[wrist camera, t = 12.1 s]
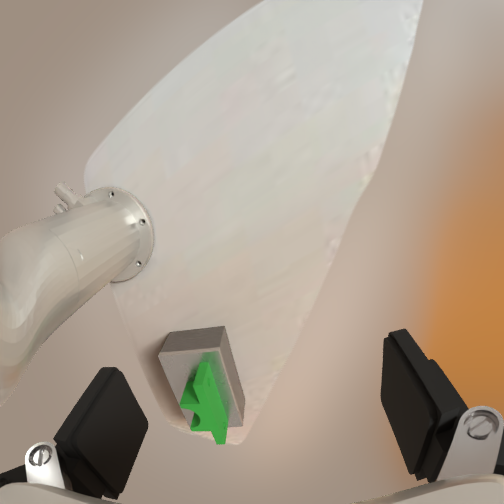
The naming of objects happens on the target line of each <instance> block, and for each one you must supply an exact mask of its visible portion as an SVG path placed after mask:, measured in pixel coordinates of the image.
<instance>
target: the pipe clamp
mask: <svg viewBox="0 0 504 504" xmlns="http://www.w3.org/2000/svg"><path fill="white" fill-rule="evenodd" d="M179 405H180V407H181V408H182V409H188V410H191V411H193V412H194V415H193V419H192V423H191V426H190V428H191V431H211V432H212V434H213V437H214V439H215V441H216V443H217V444H225V441H226V434H227V427H228V419H227V416H226V413H225V410H224V407H223V404H222V402H221V399H220V396H219V393H218V390H217V387H216V384H215V380H214V377H213V374H212V371H211V368H210V365H209V362H201V363H200V364H199V367H198V370H197V374H196V377H195V380H194V381H187V383H186V386H185V389H184V392H183V395H182V398H181V401H180V404H179Z"/></svg>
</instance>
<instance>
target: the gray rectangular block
mask: <svg viewBox="0 0 504 504" xmlns="http://www.w3.org/2000/svg"><path fill="white" fill-rule="evenodd" d="M158 358H159V360H160V363H161V365H162V367H163V370H164V372H165V374H166V377H167V379H168V381H169V384H170V386H171V388H172V391H173V393H174V395H175V397H176V399H177V402H178V404H180V401H181V398H182V395H183V392H184V389H185V386H186V383H187V381H194V380H195V377H196V374H197V370H198V367H199V364H200V363H201V362H209V365H210V368H211V371H212V374H213V377H214V380H215V384H216V387H217V390H218V393H219V396H220V399H221V402H222V404H223V407H224V410H225V413H226V416H227V419H228V427H239V426H243V418H244V407H245V397H244V394H243V390H242V387H241V383H240V380H239V376H238V373H237V369H236V366H235V362H234V359H233V355H232V352H231V348H230V344H229V341H228V337H227V333H226V329H225V326H220V327H212V328H204V329H195V330H186V331H177V332H170V334H169V335H168V337H167V339H166V341H165V343H164V345H163V347H162V349H161V351H160V353H159V355H158ZM179 406H180V405H179ZM180 408H181V407H180ZM181 410H182V412H183V414H184V417H185V419H186V421H187V423H188V425H189V427H190V426H191V423H192V419H193V415H194V412H193V411H191V410H188V409H182V408H181Z"/></svg>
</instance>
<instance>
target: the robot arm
mask: <svg viewBox="0 0 504 504" xmlns="http://www.w3.org/2000/svg"><path fill="white" fill-rule="evenodd" d="M54 192H55V194H56V195H57V196H58V197H59V198H60V199H61V200H62V201H64V202H65V203H66V204H67V205H68V211H66V209H65V208H64V207H63V206H62V205H61V204H58V205H57V206H56V207H55V209H54V213H56V215H53V216H50V217H47V218H44V219H41V220H38V221H35V222H33V223H30V224H27V225H24V226H21V227H19V228H16V229H14V230H13V231H11V232H9V233H8V234H7V235H5V236H4V237H3V238H2V239H1V240H0V407H1V406H2V405H3V404H4V403H5V402H6V400H7V399H8V398H9V397H10V395H11V394H12V393H13V391H14V390H15V388H16V387H17V385H18V383H19V382H20V380H21V378H22V376H23V375H24V373H25V371H26V369H27V367H28V365H29V364H30V362H31V360H32V358H33V357H34V355H35V354H36V352H37V351H38V350H39V348H40V347H41V346H42V344H43V343H44V342H45V341H46V340H47V338H48V337H49V336H50V335H51V334H52V333H53V332H54V331H55V330H56V329H57V328H58V327H59V326H60V325H61V324H62V323H63V322H64V321H65V320H67V319H68V318H69V317H70V316H71V315H72V314H74V313H75V312H76V311H77V310H78V309H79V308H80V307H81V306H83V304H85V303H86V302H87V301H88V300H89V299H90V298H92V297H93V296H94V295H95V294H96V293H97V292H98V291H100V290H101V289H102V288H103V287H104V286H105V285H106V284H108V283H109V282H110V281H113V282H118V281H125V280H128V279H130V278H132V277H134V276H135V275H137V274H138V273H139V272H140V271H141V270H142V269H143V268H144V267H145V265H146V264H147V262H148V261H149V259H150V257H151V253H152V250H153V243H154V234H153V227H152V223H151V220H150V217H149V215H148V213H147V211H146V210H145V208H144V206H143V205H142V204H141V203H140V202H139V201H138V199H137V198H136V197H134V196H133V195H131V194H130V193H129V192H127V191H124V190H122V189H119V188H114V187H105V188H100V189H97V190H94V191H91V192H90V193H88V194H87V195H86V196H84V197H82V196H81V195H76V194H75V193H74V192H73V191H72V189H71V188H70V187H69V186H68V185H67V184H65V182H61V183H60V184H58V185H57V187H56V188H55V191H54ZM113 192H114V195H113ZM143 219H144V220H145V223H144V222H143ZM139 261H140V262H141V263H140V262H139ZM381 402H382V405H383V407H384V410H385V412H386V415H387V417H388V420H389V422H390V424H391V427H392V430H393V432H394V435H395V437H396V440H397V443H398V445H399V447H400V450H401V453H402V456H403V458H404V461H405V464H406V466H407V469H408V472H409V474H415V476H416V479H417V481H418V480H421V479H424V478H427V480H428V482H429V483H428V484H424V485H421V486H418V487H414V488H411V489H407V490H404V491H400V492H396V493H393V494H389V495H385V496H382V497H378V498H373V499H369V500H365V501H360V502H356V503H351V504H504V421H503V418H502V416H501V415H500V413H499V412H498V411H497V410H495V409H493V408H491V407H487V406H477V407H473V408H471V409H468V407H467V406H466V404H465V403H464V401H463V400H462V398H461V397H460V395H459V394H458V392H457V391H456V389H455V388H454V387H453V385H452V384H451V382H450V381H449V379H448V378H447V376H446V375H445V374H444V372H443V371H442V369H441V368H440V367H439V365H438V364H437V363H436V362H435V361H434V360H433V359H430V360H428V359H427V357H426V356H425V355H424V353H423V352H422V350H421V349H420V347H419V346H418V345H417V343H416V342H415V341H414V339H413V338H412V337H411V335H410V334H409V332H408V331H407V330H406V329H401V330H398V331H394V332H390V333H389V335H388V337H387V338H384V345H383V368H382V385H381ZM147 429H148V421H147V418H146V417H145V415H144V413H143V411H142V409H141V408H140V406H139V404H138V402H137V400H136V398H135V397H134V395H133V393H132V391H131V389H130V387H129V385H128V383H127V381H126V379H125V377H124V375H123V373H122V372H121V371H119V370H118V369H117V368H116V367H103V368H101V369H100V370H99V372H98V373H97V375H96V376H95V378H94V379H93V380H92V382H91V383H90V385H89V386H88V388H87V389H86V390H85V392H84V393H83V395H82V396H81V398H80V399H79V401H78V402H77V404H76V405H75V406H74V408H73V409H72V411H71V412H70V414H69V415H68V417H67V418H66V420H65V421H64V423H63V425H62V426H61V428H60V429H59V430H58V432H57V434H56V435H55V437H54V438H53V439H54V440H55V442H56V443H57V445H56V446H54V445H53V444H52V443H49V442H40V443H37V444H35V445H34V446H32V447H31V448H30V449H29V451H28V452H27V454H26V456H25V464H24V465H22V466H19V467H17V468H15V469H12V470H9V471H7V472H4V473H1V474H0V504H120V503H115V502H111V501H106V500H102V499H101V498H102V495H104V496H105V497H107V498H111V499H116V500H117V499H118V496H119V494H120V493H122V492H123V490H124V488H125V485H126V483H127V480H128V478H129V475H130V472H131V469H132V467H133V465H134V462H135V460H136V457H137V454H138V452H139V449H140V447H141V444H142V442H143V439H144V437H145V434H146V432H147Z"/></svg>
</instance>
